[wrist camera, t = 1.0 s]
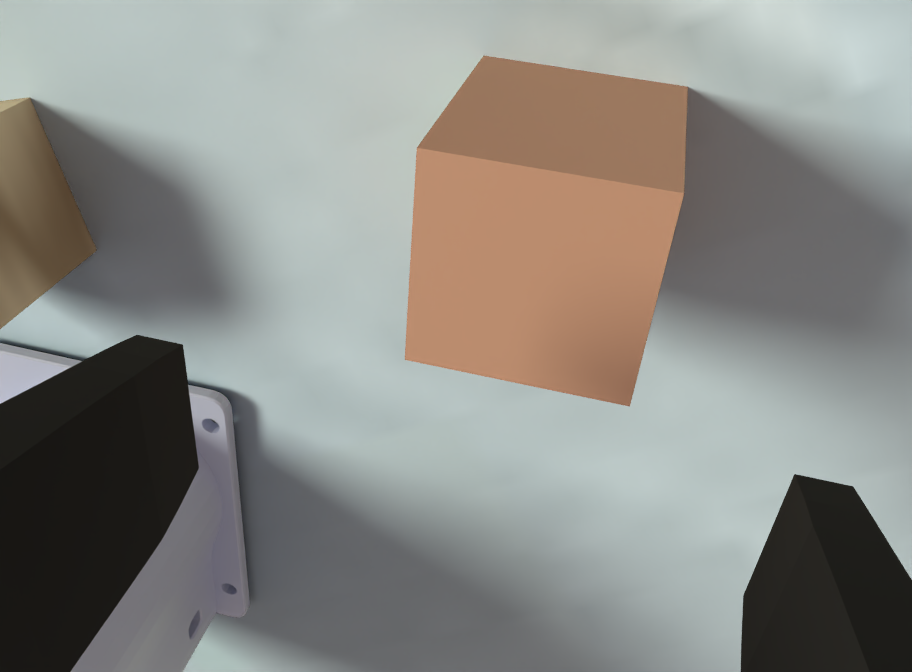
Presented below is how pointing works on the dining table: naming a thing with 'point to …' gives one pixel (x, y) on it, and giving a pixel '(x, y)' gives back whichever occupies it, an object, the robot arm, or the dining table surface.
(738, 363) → the dining table surface
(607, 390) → the terracotta block
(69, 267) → the maple block
